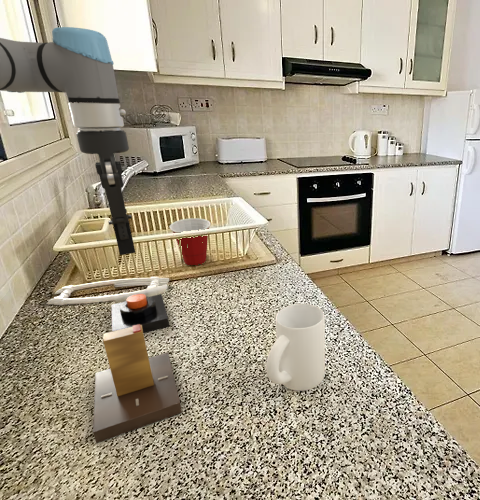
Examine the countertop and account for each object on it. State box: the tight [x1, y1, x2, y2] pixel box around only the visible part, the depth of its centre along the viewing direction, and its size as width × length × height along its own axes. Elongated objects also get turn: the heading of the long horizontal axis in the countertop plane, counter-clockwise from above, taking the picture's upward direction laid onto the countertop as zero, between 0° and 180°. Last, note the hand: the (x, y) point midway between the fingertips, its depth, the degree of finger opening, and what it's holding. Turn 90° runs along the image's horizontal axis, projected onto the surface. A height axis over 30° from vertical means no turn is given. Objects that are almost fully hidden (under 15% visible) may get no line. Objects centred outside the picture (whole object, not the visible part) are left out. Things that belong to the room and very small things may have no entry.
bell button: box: [126, 294, 147, 309], centre depth 79 cm, size 4×4×2 cm
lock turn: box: [102, 324, 154, 396], centre depth 57 cm, size 5×2×10 cm, turn 121°
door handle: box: [46, 276, 170, 306], centre depth 89 cm, size 3×10×25 cm
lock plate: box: [92, 352, 183, 444], centre depth 59 cm, size 14×11×2 cm
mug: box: [265, 303, 326, 392], centre depth 61 cm, size 8×12×12 cm
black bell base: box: [110, 293, 171, 334], centre depth 80 cm, size 12×10×4 cm
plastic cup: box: [168, 217, 212, 266], centre depth 107 cm, size 11×11×12 cm
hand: (127, 252), depth 75 cm, fingers closed
